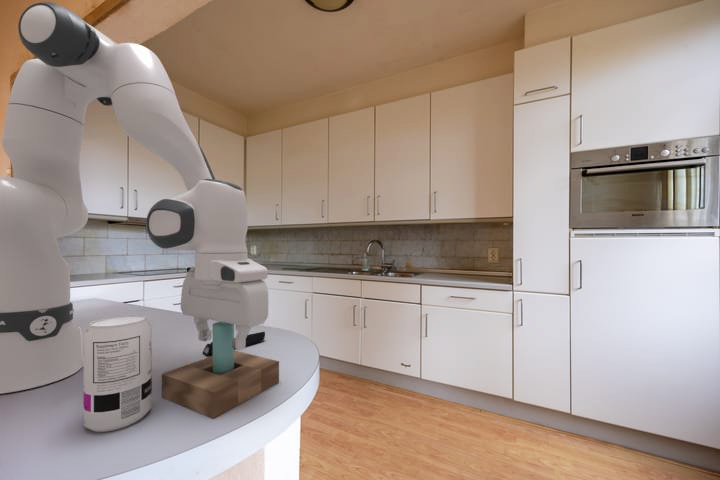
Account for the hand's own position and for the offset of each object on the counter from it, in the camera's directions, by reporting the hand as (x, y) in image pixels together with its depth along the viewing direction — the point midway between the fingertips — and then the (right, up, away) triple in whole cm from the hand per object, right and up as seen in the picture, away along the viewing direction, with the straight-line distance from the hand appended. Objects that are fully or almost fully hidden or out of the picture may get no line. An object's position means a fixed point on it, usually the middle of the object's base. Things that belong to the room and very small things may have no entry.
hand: (221, 344), depth 57 cm
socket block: (0, -8, 0) cm, 8 cm away
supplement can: (-11, -9, -9) cm, 17 cm away
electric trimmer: (-7, -9, +23) cm, 26 cm away
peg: (0, -8, 0) cm, 8 cm away
